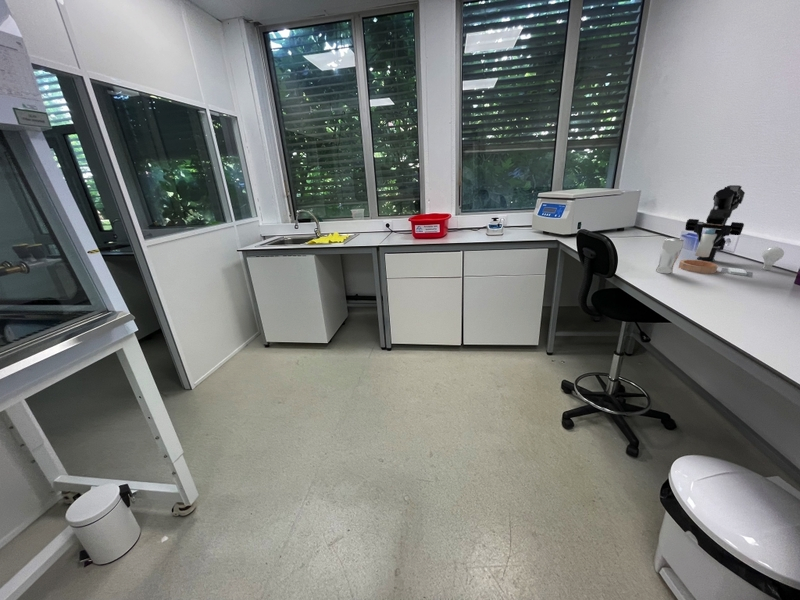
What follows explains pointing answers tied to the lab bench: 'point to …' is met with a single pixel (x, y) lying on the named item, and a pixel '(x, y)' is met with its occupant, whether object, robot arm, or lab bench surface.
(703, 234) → the bottle
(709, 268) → the bowl
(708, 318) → the lab bench surface
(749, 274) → the mat
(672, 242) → the beer glass
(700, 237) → the robot arm
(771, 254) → the lightbulb
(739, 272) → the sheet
